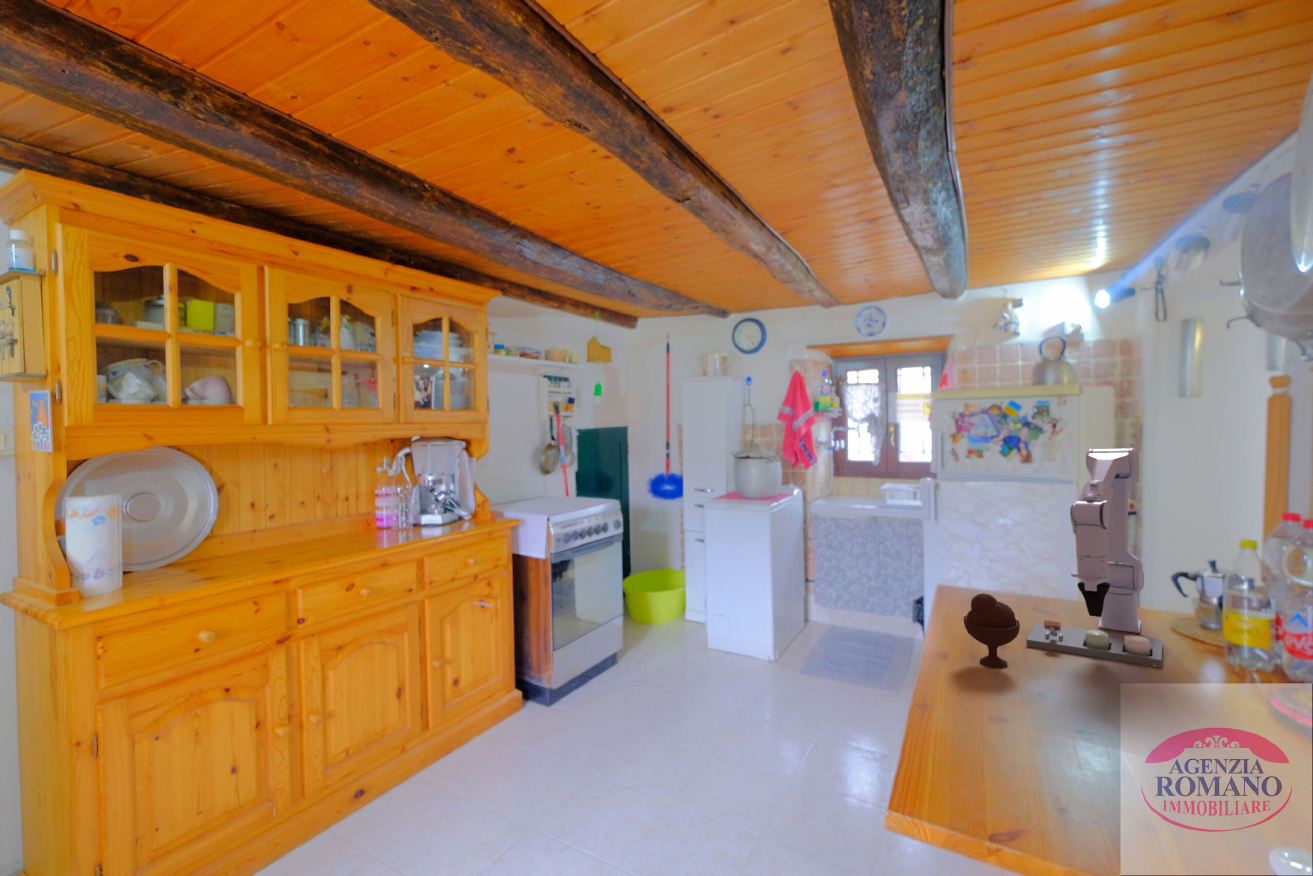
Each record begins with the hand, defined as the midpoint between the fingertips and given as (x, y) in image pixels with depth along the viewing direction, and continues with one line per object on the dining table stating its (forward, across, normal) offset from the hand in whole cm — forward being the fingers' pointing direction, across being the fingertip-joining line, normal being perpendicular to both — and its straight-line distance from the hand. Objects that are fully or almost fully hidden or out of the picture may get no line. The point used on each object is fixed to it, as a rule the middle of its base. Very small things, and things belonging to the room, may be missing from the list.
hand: (1095, 615), depth 132 cm
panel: (+8, -3, -1) cm, 9 cm away
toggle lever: (+6, 0, -8) cm, 10 cm away
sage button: (+7, 0, 0) cm, 7 cm away
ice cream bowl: (+8, +19, -17) cm, 27 cm away
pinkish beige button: (+7, 0, +7) cm, 10 cm away
